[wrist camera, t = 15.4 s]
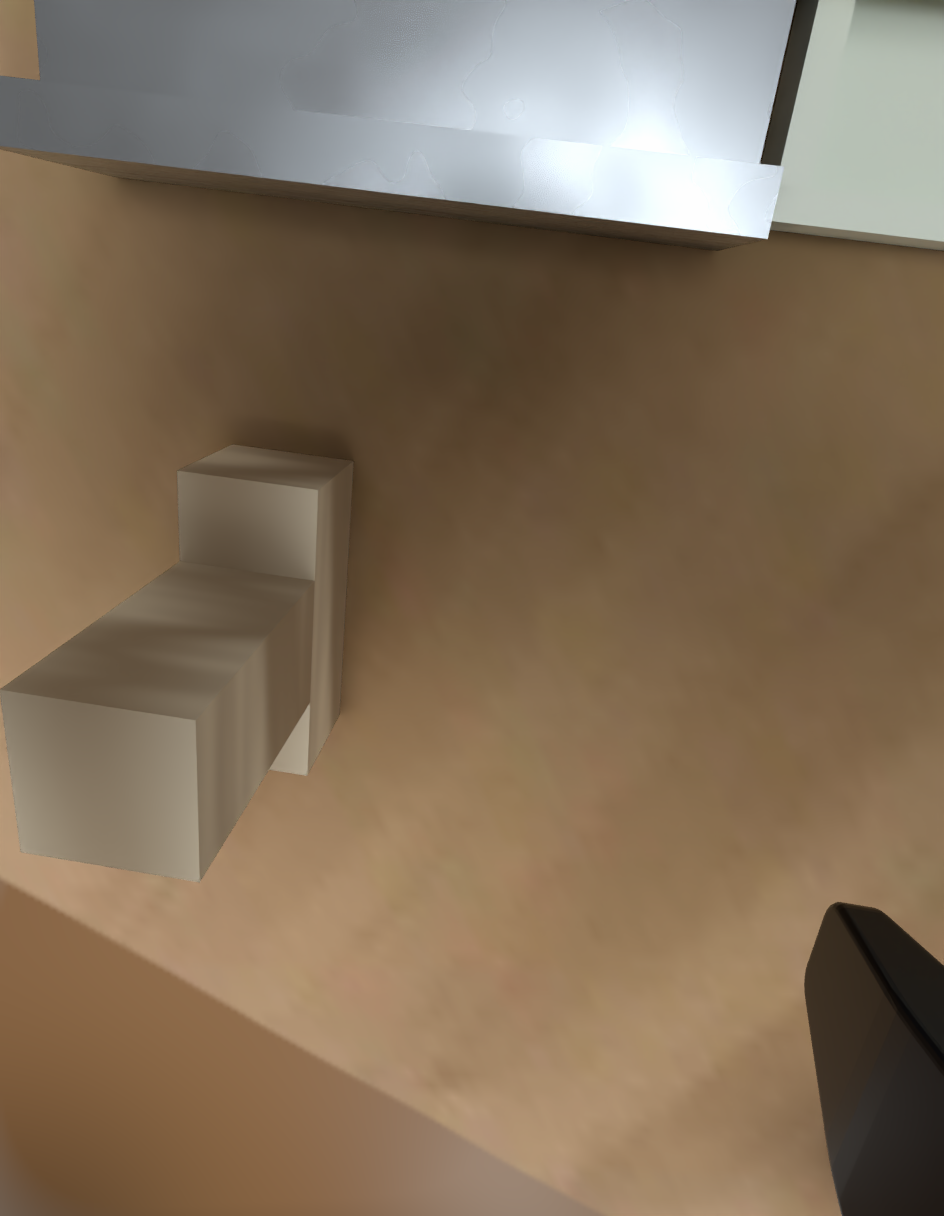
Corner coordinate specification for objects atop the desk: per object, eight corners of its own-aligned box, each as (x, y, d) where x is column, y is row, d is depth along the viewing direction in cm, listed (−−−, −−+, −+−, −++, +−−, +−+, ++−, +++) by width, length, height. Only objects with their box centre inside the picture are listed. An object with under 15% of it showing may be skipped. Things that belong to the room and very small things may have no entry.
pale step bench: (354, 460, 19) (192, 593, 11) (340, 713, 22) (201, 975, 14) (232, 444, 19) (-18, 562, 11) (233, 697, 22) (33, 945, 14)
